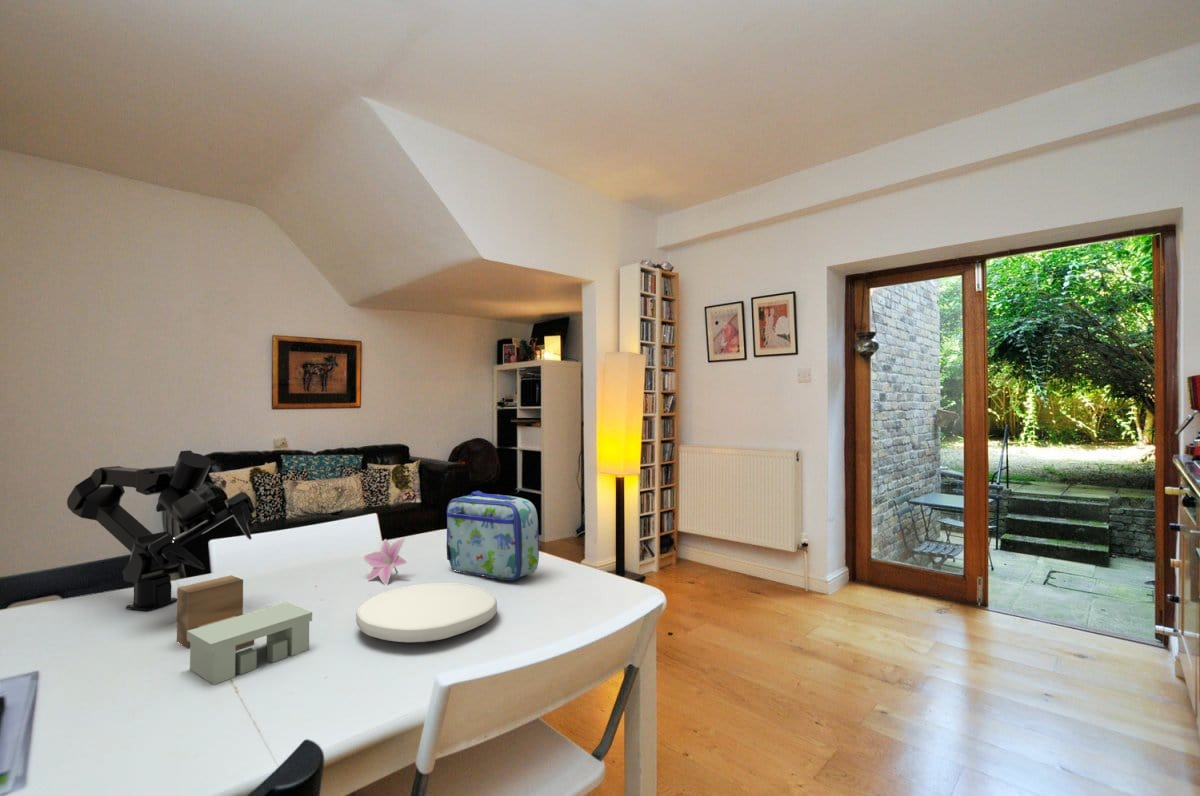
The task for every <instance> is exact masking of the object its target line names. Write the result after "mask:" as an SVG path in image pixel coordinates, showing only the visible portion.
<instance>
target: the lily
mask: <svg viewBox="0 0 1200 796" xmlns="http://www.w3.org/2000/svg"><path fill="white" fill-rule="evenodd" d="M405 540H406V537H402V538H400V539H398V540H396V541H395V542H393V543H392V544H391V545H390V543H389V541H388V540H387V538H385V539H383V541H382V544H381V546H380V550H379V551H374V552H371V553H368V554H366V555H364V556H363V557H362V559H363V561H364V562H365V563H366V564H367V565H369V567H373V568H372V569H371V571H370V573H369V574H368V577H367V580H369V581H368V582H370V581H371V580H373V579H374V578H376V577H377V576H379V578H380V580H381V582H382V583H383V585H385V584H387V585H388V584H389V582H390V577H391V575H392V573H393V570H394V571H395V572H396V573H395V574H397V573H398V574H399V572H398V570H397V568H398V567H402V566H404V565H406V564H408V563H407V560H406V559H405V558H403V557H402V556H400V555H399V553H400V551H401V549H402V547H403V545H404V543H405Z"/></svg>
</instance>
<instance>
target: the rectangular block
mask: <svg viewBox="0 0 1200 796" xmlns="http://www.w3.org/2000/svg"><path fill="white" fill-rule="evenodd" d="M176 592H177V594H176V595H177V597H176V598H177V601H176V602H177V603H176V642H177V643H178V642H179V643H180V644H179V643H178V644H179V645H181V644H182V645H181V646H183V647H185V648H186V649H190V642H189V641H188V640H187V631H188V630H192V629H195V628H199V627H202V626H206V625H209V624H213V623H216V622H220V621H223V620H226V619H230V618H233V617H237V616H240V615H244V611H243V610H244V579H243V578H240V577H237V576H234V575H232V574H230V575H225V576H223V577H219V578H213V579H208V580H205V581H201V582H197V583H191V584H188V585H187V584H186V585H182V586H179V587H177V591H176ZM253 645H255V639H254V640H251V641H248V642H245V643H242V644H239V645H236V646H235V651H238V650H241V649H245V648H247V647H250V646H253Z"/></svg>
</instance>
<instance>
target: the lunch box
mask: <svg viewBox="0 0 1200 796" xmlns="http://www.w3.org/2000/svg"><path fill="white" fill-rule="evenodd" d="M539 533H540V532H539V519H538V512H537V509H536V507H535V505H534V504H533V502H532V501H530V500H529V499H526V498H523V497H519V496H512V495H503V494H491V493H484V492H482V491H480V490H476V491H472V492H471V494H468V495H463V496H460V497H455V498H452V499H451V500H450V501H449V502H448V505H447V508H446V557H447V558H446V560H447V561H448V562H449V566H450V568H451V569H452V571H453V570H456V571H460V572H465V573H464V574H468V573H469V575H474V574H475V576H479V575H484V576H488V577H487V578H490V577H493V578H492V579H495V578H498V579H497V580H501V581H508V582H509V581H510V582H515V581H516V580H518V579H519V578H521V577H525V576H527V575H530V574H533V573H534V572H535V571H536V570H537V569H538V566H539V560H540V559H539V557H540V555H539V554H540V546H539V545H540V543H539V542H540V536H539ZM484 576H483V577H484Z"/></svg>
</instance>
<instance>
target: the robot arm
mask: <svg viewBox="0 0 1200 796" xmlns="http://www.w3.org/2000/svg"><path fill="white" fill-rule="evenodd" d="M212 464H213V463H212V459H211V458H210V457H208V456H205V455H203V454H201V453H196V452H193V451H192V450H191V449H190V450H188V449H187V450H181V451H180V452H179V454H178V458H177V460H176V463H175V464H174V465H168V466H159V467H158V466H157V467H148V468H135V467H124V466H120V465H116V466H114V465H113V466H103V467H102V466H101V467H99V468H96V469H94V470H93V471H92V473H91V474H90V476H88V477H87V478H85V479H83V480H82V481H81V482H79V483H78V484H76V485H74V487H73V489H72V491H71V492H70V493H69V495H68V496H67V500H66V505H67V508H68V509H69V510H70V512H72V513H73V514H74V515H76V516H78V517H79V518H81V519H84V520H85V519H86V520H91V521H96V522H97V523H99V524H100V526H102V527H103V528H104V529H105V530H106V531H108V533H109V534H111V535H112V536H113V537H114V538H115V539H116V540H117V541H118V542H119V543H121V544H122V545H123V546H124V547H125V548H126V549H127V550H128V551H129V552H130V557H129V562H128V563H127V564H126V566H125V567H124V568H123V570H122V576H123V581H124V582H128V583H133V603H131V604H127V605H126V606H125V608H126V609H128V608H131V609H130V610H136V609H138V610H139V611H146V612H147V611H152V610H155V609H158V608H161V607H164V606H166V605H168V604H172V603H175V602H177V597H172V582H171V581H172V575H173V574H177V573H180V572H181V569H182V565H187V566H188V565H189V566H191V567H194V568H197V569H200V570H205V569H206V567H205V565H204V564H203V563H202V562H201V560H199V559H197V556H194V555H193V554H192V553H191V552H190V551H188V550H187V549H186V548H185V547H184V545H185V544H187V543H189V542H190V541H191V540H193V539H196V538H197V537H199V536H201V535H203V534H205V533H207V532H209V531H210V530H212V529H214V528H216V527H217V526H219V525H220V524H222V523H224V522H225V521H228V520H229V519H231V518H233V519H234V520H235V522H236V524H237V525H238V526H239V528H240V530H241V531H242V532H243V534H244V535H245V537H246V538H247V539H248V540H249V541H250V540H252V535H251V532H250V529H249V519H251V518H252V514H254V512H255V511H256V508H255V506H254V504H253V501H252V499H251V497H250V496H249V495H248V494H247V493H246V492H243V491H239V492H238V493H236V494H235V495H233V496H231V497H229V498H227V499H226V500H224V504H225V505H226V508H224V509H222V510H220V511H219V512H217V513H216V514H215V513H214V508H213V507H212V506H211V504H209V501H211V500H212V499H215V493H214V491H212V489H211V488H210V487H209V486H208V485H207V484H206V483H204V481H205V479H206V477H207V474H208V472H209V470H210V468H211V466H212ZM125 487H126V488H134V489H135V491H136V492H137V493H140V494H141V495H145V496H152V495H159V496H158V499H157V504H156V507H155V511H156V512H157V513H159V512H165V511H167V513H169V515H170V516H171V517H172V518H173V519H174V520H175V522H177V523H178V525H180V527H181V528H182V529H183V530H184V532H182V533H179V534H178V535H176V536H175V537H174V536H173V535H172V534H171V532H169V531H161V532H155V533H152V531H150V530H149V529H148V528H147V527H145V525H143V524H142V523H141V522H140V521H139V520H138V519H137V518H135V517H134V516H133V515H132V514H131V513H129V511H127V510H126V509H125V508H124V507H122V505H120V504H121V498H122V497H123V495H124V494H125V492H126V491H125V489H124V488H125Z"/></svg>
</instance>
